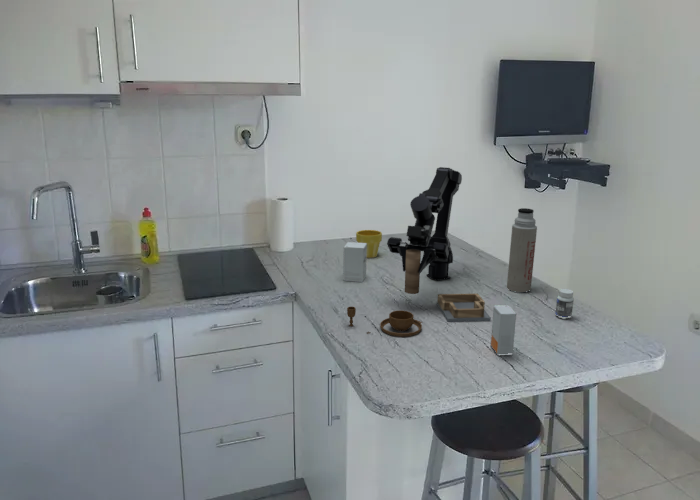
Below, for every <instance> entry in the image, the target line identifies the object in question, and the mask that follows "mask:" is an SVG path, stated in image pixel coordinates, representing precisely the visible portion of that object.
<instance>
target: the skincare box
mask: <svg viewBox="0 0 700 500" xmlns="http://www.w3.org/2000/svg"><path fill="white" fill-rule="evenodd" d="M516 320H517V313H516V312H515V311H514V309H513V308H512V307H511V306H510V305H508V304H507V305H505V304H502V305H498V304H497V305H493V311H492V320H491V321H492V323H491V334H490V335H491V336H490V347H491V346H492V347H491V349H492V348H493V349H494V350H495V351H496V353H497V354H508V353H513V354H514V342H515V333H516ZM493 349H492V350H493ZM494 350H493V351H494ZM496 353H495V354H496Z"/></svg>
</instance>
